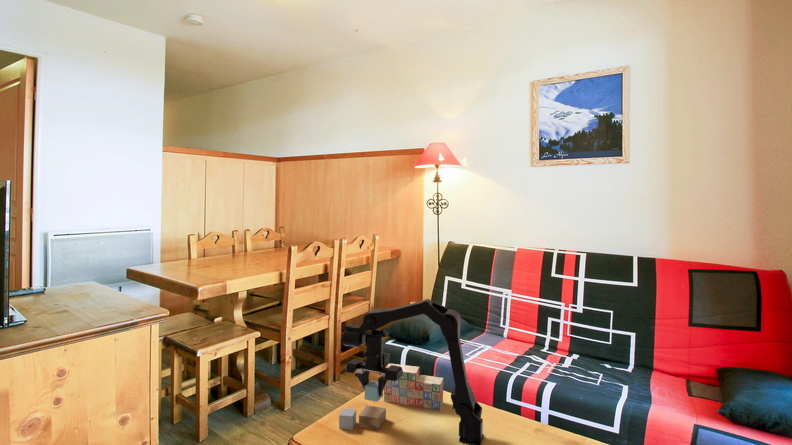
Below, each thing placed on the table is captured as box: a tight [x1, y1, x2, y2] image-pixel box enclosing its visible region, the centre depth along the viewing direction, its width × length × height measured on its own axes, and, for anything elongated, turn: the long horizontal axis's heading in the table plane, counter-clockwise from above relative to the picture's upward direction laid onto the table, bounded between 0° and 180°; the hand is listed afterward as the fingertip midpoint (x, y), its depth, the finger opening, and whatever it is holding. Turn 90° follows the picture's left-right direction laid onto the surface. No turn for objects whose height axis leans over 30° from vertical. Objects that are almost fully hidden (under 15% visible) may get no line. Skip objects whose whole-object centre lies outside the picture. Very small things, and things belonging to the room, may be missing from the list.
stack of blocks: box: [383, 362, 444, 411], centre depth 147 cm, size 21×6×12 cm, turn 73°
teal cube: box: [364, 380, 384, 403], centre depth 132 cm, size 4×4×4 cm
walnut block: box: [358, 404, 387, 431], centre depth 132 cm, size 7×7×4 cm
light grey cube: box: [338, 408, 357, 431], centre depth 130 cm, size 4×4×4 cm
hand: (373, 394), depth 132 cm, fingers closed on teal cube, 4 cm apart
